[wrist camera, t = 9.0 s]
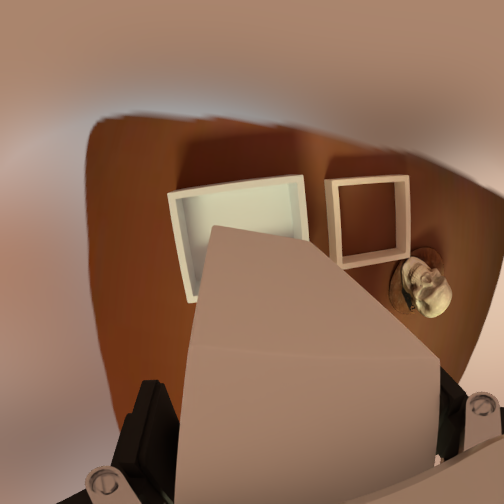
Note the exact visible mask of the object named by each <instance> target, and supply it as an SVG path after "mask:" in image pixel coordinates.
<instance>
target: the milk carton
mask: <svg viewBox="0 0 504 504" xmlns="http://www.w3.org/2000/svg"><path fill="white" fill-rule="evenodd" d="M439 394H440V359H439V358H438V357H436V356H435V355H434V354H433V353H432V352H431V351H430V350H429V349H428V348H427V347H426V346H425V345H424V344H423V343H422V342H421V341H420V340H419V339H418V338H417V337H416V336H415V335H414V334H413V333H411V332H410V331H409V330H408V329H407V328H406V327H405V326H404V325H403V324H402V323H401V322H400V321H399V320H398V319H397V318H396V317H394V316H393V315H392V314H391V313H390V312H389V311H388V310H387V309H386V308H385V307H384V306H383V305H381V304H380V303H379V302H378V301H377V300H376V299H375V298H374V297H373V296H372V295H370V294H369V293H368V292H367V291H366V290H365V289H364V288H363V287H362V286H361V285H359V284H358V283H357V282H356V281H355V280H354V279H353V278H352V277H350V276H349V275H348V274H347V273H346V272H345V271H344V270H342V269H341V268H340V267H339V266H338V265H337V264H336V263H334V262H333V261H332V260H331V259H330V258H329V257H328V256H326V255H325V254H324V253H323V252H322V251H321V250H319V249H318V248H317V247H316V246H315V245H314V244H312V243H311V242H309V241H306V240H300V239H295V238H289V237H284V236H278V235H272V234H266V233H261V232H255V231H249V230H243V229H237V228H231V227H225V226H218V225H213V226H212V229H211V234H210V238H209V243H208V248H207V253H206V258H205V263H204V268H203V273H202V278H201V283H200V288H199V294H198V299H197V305H196V310H195V316H194V321H193V327H192V333H191V338H190V344H189V349H188V357H187V365H186V374H185V382H184V391H183V400H182V410H181V420H180V430H179V441H178V453H177V466H176V481H175V498H174V504H338V503H342V502H345V501H349V500H352V499H355V498H358V497H362V496H365V495H368V494H370V493H373V492H376V491H379V490H382V489H384V488H387V487H390V486H392V485H395V484H397V483H400V482H402V481H405V480H407V479H409V478H412V477H414V476H416V475H418V474H420V473H423V472H425V471H427V470H429V469H431V468H433V467H434V463H435V455H436V447H437V437H438V425H439V407H440V395H439Z"/></svg>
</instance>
